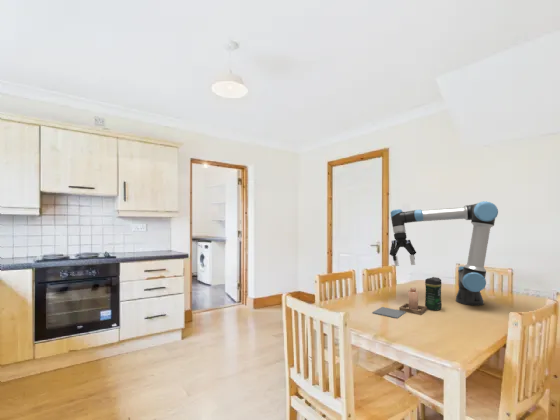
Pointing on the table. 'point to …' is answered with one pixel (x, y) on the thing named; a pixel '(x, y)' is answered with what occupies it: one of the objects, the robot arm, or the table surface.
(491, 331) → the table surface
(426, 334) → the table surface
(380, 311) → the plate
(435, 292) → the coffee jar
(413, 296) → the terracotta spice bottle
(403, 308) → the walnut frame
